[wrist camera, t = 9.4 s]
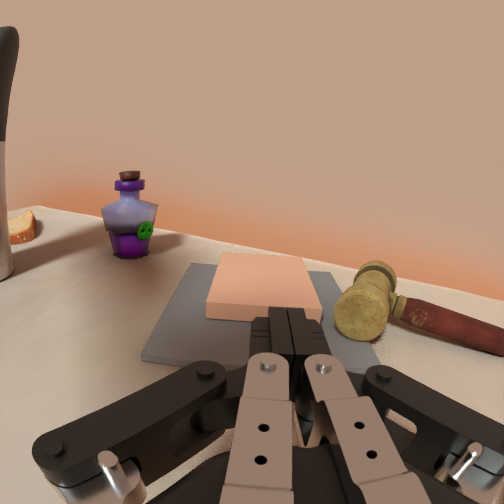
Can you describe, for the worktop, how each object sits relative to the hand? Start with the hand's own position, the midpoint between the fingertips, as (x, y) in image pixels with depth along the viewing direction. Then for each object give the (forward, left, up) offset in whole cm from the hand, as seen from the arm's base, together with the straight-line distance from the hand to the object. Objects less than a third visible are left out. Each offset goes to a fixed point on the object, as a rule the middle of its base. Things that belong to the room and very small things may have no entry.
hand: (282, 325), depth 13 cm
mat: (0, +16, -8) cm, 18 cm away
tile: (0, +12, -6) cm, 14 cm away
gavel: (+17, +10, -7) cm, 21 cm away
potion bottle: (-19, +30, -8) cm, 36 cm away
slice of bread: (-50, +38, -8) cm, 63 cm away
